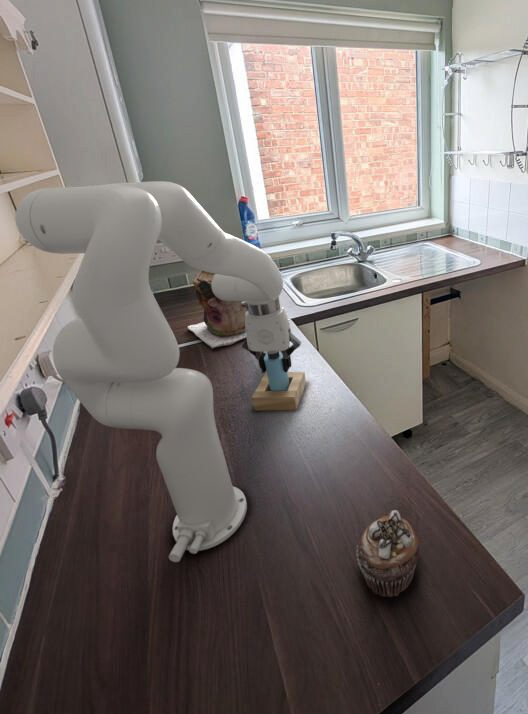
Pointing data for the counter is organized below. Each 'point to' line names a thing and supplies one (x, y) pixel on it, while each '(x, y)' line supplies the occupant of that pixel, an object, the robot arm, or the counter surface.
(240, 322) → the cookie jar
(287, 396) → the square wooden frame
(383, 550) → the cupcake
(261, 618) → the counter surface
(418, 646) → the counter surface
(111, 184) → the robot arm
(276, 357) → the bottle
